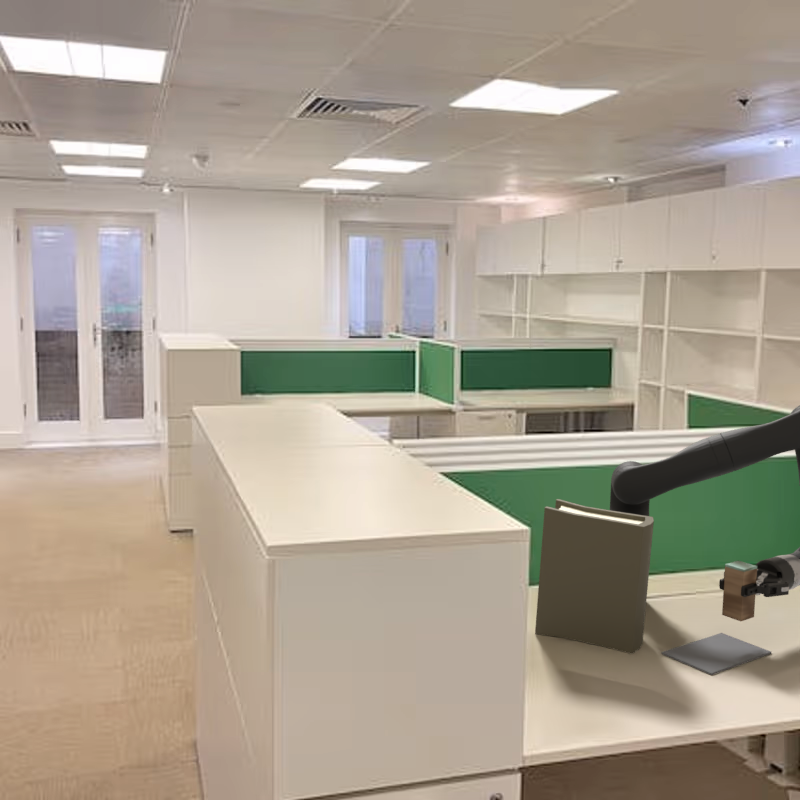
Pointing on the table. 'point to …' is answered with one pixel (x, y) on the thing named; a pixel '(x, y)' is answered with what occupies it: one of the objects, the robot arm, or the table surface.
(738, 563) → the walnut block
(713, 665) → the rubber mat
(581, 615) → the book
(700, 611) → the table surface
